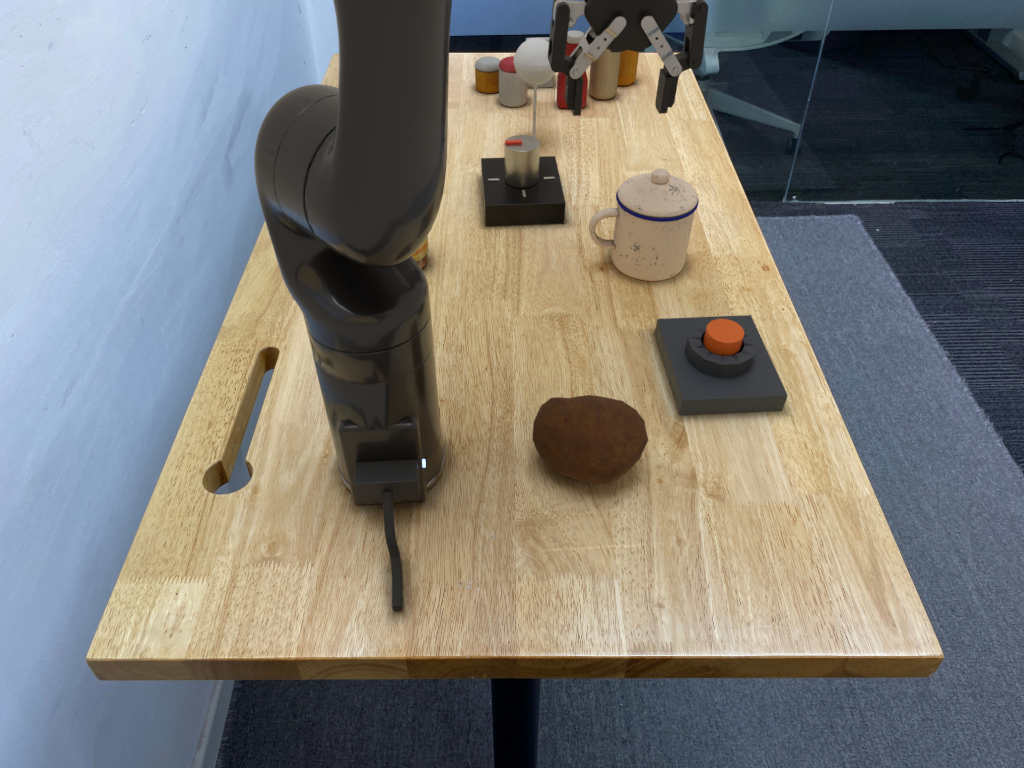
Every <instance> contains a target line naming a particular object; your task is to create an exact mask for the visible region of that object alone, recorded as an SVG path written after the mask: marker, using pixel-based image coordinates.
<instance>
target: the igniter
mask: <svg viewBox="0 0 1024 768" xmlns="http://www.w3.org/2000/svg"><path fill="white" fill-rule="evenodd" d="M716 319H728V320H732V321H734V322H736V323H738V324H739V325H740V326H741V327H742V328H743V330H744V338H743V341H742V345H741V348H740V350H739V351H738V352H737V353H736V354H734V355H731V356H721V355H717V354H714V353H712V352H710V351H709V350H708V349H707V348H706V347H705V345H704V343H703V340H704V336H705V331H706V327H707V325H708V324H709V323H710V322H711V321H713V320H716ZM654 339H655V341H656V344H657V347H658V350H659V354H660V357H661V360H662V364H663V367H664V370H665V374H666V376H667V377H666V378H667V380H668V384H669V387H670V390H671V392H672V396H673V400H674V402H675V405H676V406H675V407H676V409H677V412H678V415H679V417H685V416H687V417H688V416H704V415H705V416H707V415H727V414H747V413H748V414H749V413H768V412H783V410H784V407H785V405H786V402H787V399H788V392H787V391H786V389H785V386H784V384H783V382H782V380H781V378H780V375H779V373H778V371H777V369H776V367H775V365H774V362H773V360H772V358H771V356H770V353H769V352H768V349H767V348H766V345H765V343H764V341H763V338H762V336H761V334H760V332H759V330H758V328H757V325H756V324H755V321H754V319H753V317H752V315H751V314H744V315H743V314H742V315H720V316H695V317H694V316H693V317H671V318H670V317H669V318H657V319H656V323H655V329H654Z"/></svg>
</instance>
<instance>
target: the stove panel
mask: <svg viewBox="0 0 1024 768" xmlns="http://www.w3.org/2000/svg"><path fill="white" fill-rule="evenodd" d="M559 171H560V170H559V167H558V163H557V159H556V155H548V156H546V155H544V156H543V155H541V156H540V155H539V180H538V182H537V183H536V184H535V185H533V186H531V187H526V188H518V187H513V186H510V185H509V184H507V183H506V182H505V157H481V158H480V173H481V175H480V177H481V187H482V188H481V189H482V202H483V213H484V226H485V227H504V226H530V225H531V226H534V225H561V224H562V225H565V222H566V221H565V220H566V199H565V194H564V190H563V189H564V188H563V185H562V180H561V176H560V172H559Z"/></svg>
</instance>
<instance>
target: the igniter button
mask: <svg viewBox="0 0 1024 768" xmlns="http://www.w3.org/2000/svg"><path fill="white" fill-rule="evenodd" d="M743 338H744V330H743V328H742V327H741V326H740V325H739V324H738V323H736V322H734V321H732V320H728V319H716V320H713V321H711V322H710V323H709V324H708V325H707V327H706V331H705V336H704V340H703V343H704V345H705V347H706V348H707V349H708V350H709V351H710V352H712V353H714V354H717V355H721V356H731V355H734V354H736V353H737V352H738V351H739V350H740V348H741V345H742V341H743Z"/></svg>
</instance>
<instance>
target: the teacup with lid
mask: <svg viewBox="0 0 1024 768" xmlns="http://www.w3.org/2000/svg"><path fill="white" fill-rule="evenodd" d="M615 200H616V202H617V203H616V207H607V208H602V209H599V210H598V211H596V212H595V213H594V214H593V215H592V216H591V217H590V219H589V222H588V233H589V236H590V238H591V241H592V242H593V244H595V245H596V246H598V247H599V248H603V249H609V250H610V249H611V261H612V263H613V265H614V266H615V268H616V269H617V270H618V271H620V272H621V273H622V274H624V275H626V276H628V277H629V278H632V279H635V280H639V281H646V282H656V281H657V282H659V281H664V280H668V279H671V278H673V277H675V276H677V275H678V274H679V273H681V271H682V270H683V268H684V266H685V263H686V260H687V259H686V258H687V254H688V248H689V244H690V243H689V242H690V238H691V232H692V227H693V223H694V217H695V212H696V211H697V209H698V206H699V201H700V200H699V196H698V193H697V190H696V189H695V187H694V186H693V185H692V184H690V183H689V182H688V181H687V180H685V179H682V178H681V177H678V176H676V175H671V174H670V171H669V170H667V169H665V168H655V169H654V170H652V172H646V173H640V174H636V175H633V176H630V177H628V178H626V179H625V180H624V181H623V182H622V183H621V184H620V185H619V186H618V189H617V190H616V194H615ZM608 218H615V220H614V230H613V239H606V238H601V237H600V236H599V235H598V234H597V233H596V232H597V231H596V229H597V226H598V224H599V223H600V222H601V221H602V220H604V219H608Z"/></svg>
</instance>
